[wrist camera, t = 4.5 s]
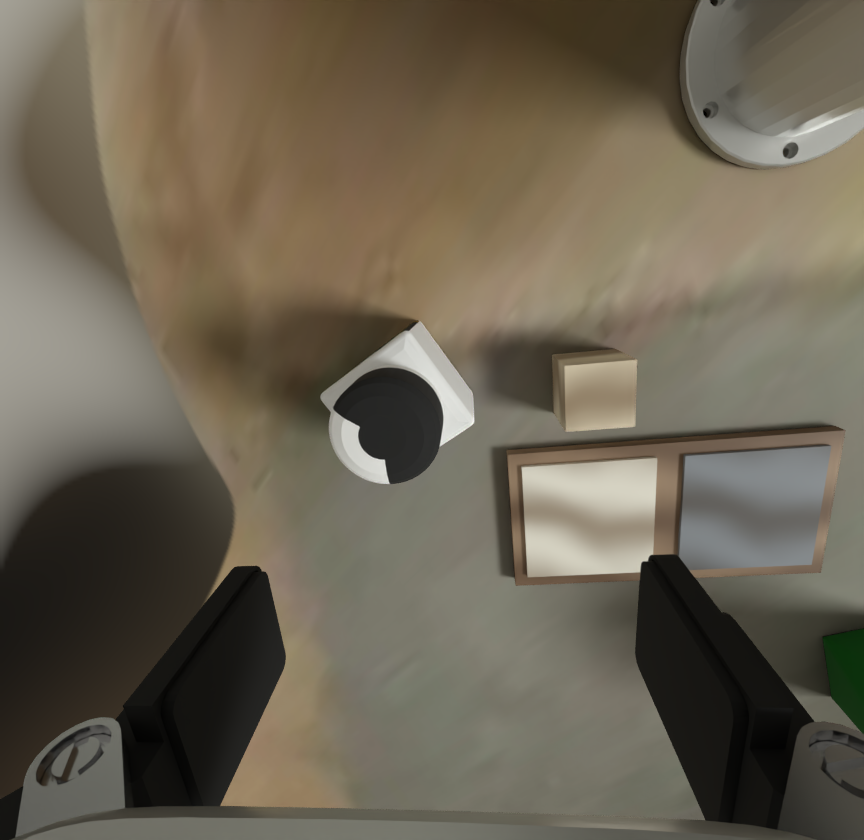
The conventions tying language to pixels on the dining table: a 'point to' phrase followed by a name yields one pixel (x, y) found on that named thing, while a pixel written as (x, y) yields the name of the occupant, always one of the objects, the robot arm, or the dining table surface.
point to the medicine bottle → (397, 408)
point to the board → (674, 505)
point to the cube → (594, 390)
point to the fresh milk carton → (847, 673)
